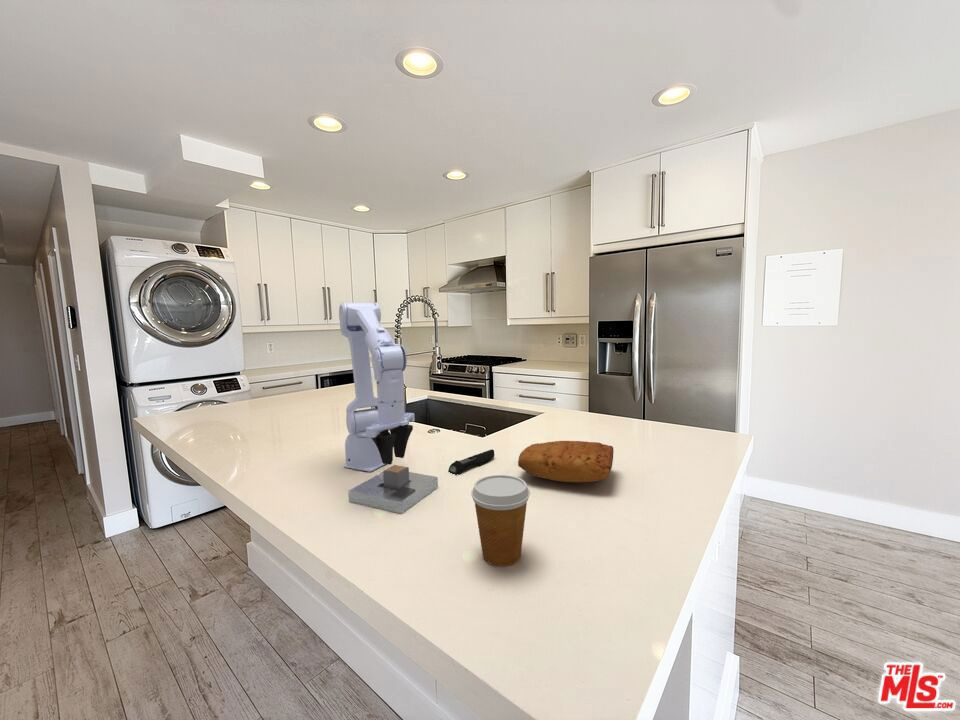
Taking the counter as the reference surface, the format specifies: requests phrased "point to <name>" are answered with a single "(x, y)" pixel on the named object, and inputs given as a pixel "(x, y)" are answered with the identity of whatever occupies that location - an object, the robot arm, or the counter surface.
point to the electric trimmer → (471, 462)
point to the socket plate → (393, 492)
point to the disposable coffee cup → (501, 517)
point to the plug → (396, 477)
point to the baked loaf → (568, 461)
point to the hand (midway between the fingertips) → (393, 460)
